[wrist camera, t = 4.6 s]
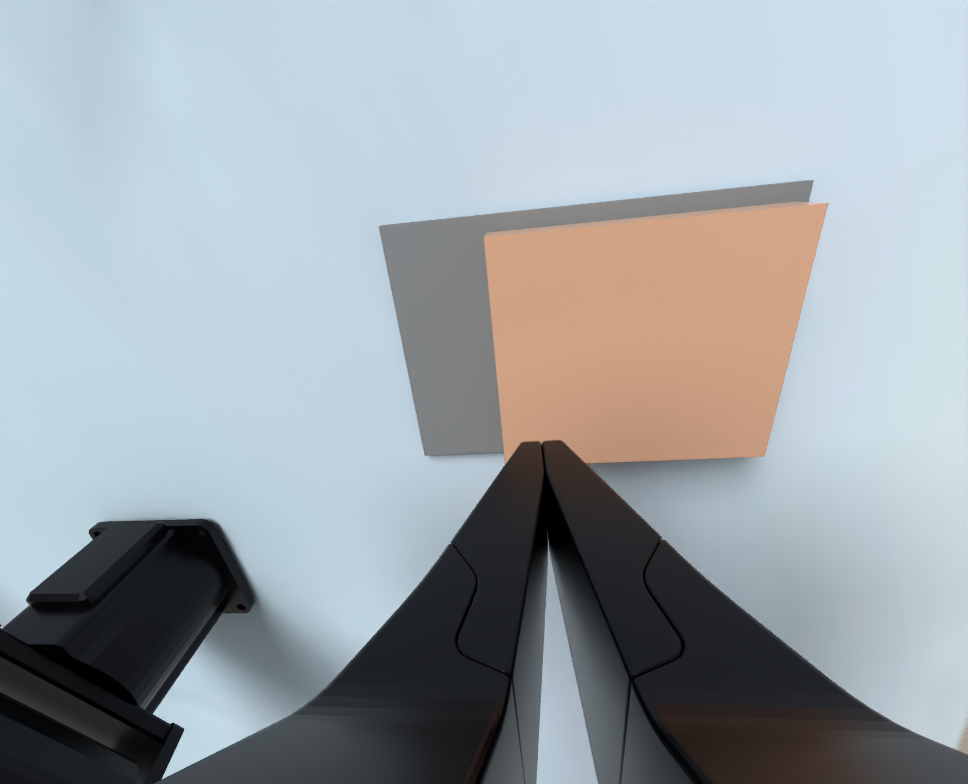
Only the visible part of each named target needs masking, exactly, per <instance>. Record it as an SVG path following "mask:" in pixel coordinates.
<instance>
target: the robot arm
mask: <svg viewBox="0 0 968 784" xmlns="http://www.w3.org/2000/svg"><path fill="white" fill-rule="evenodd" d="M547 533H548V534H547ZM89 534H90V536H91V537H92V539H93V540H92V541H91V542H90V543H89V544H88V545H86V546H85V547H84V548H83V549H82V550H80V551H79V552H78V553H77V554H76V555H74V556H73V557H72V558H71V559H70V560H68V561H67V562H66V563H65V564H64V565H62V566H61V567H60V568H59V569H58V570H56V571H55V572H54V573H53V574H52V575H50V576H49V577H48V578H47V579H46V580H44V581H43V582H42V583H41V584H40V585H38V586H37V587H36V588H35V589H34V590H32V591H31V592H30V594H29V595H28V597H27V599H26V601H27V602H28V604H29V606H28V607H27V608H26V609H25V610H23V611H22V612H21V613H20V614H19V615H18V616H16V617H15V618H14V619H13V620H12V621H11V622H9V623H8V624H7V625H6V626H5V627H4V628H2V629H0V784H536V780H537V760H538V741H539V722H540V703H541V683H542V664H543V645H544V625H545V606H546V587H547V568H548V543H549V551H550V556H551V562H552V566H553V571H554V576H555V581H556V585H557V590H558V595H559V600H560V604H561V609H562V614H563V618H564V623H565V628H566V633H567V637H568V642H569V647H570V652H571V656H572V661H573V666H574V671H575V675H576V680H577V685H578V690H579V694H580V699H581V704H582V709H583V713H584V718H585V723H586V728H587V732H588V737H589V742H590V747H591V751H592V756H593V761H594V766H595V770H596V775H597V780H598V784H968V754H965V753H963V752H960V751H958V750H955V749H953V748H950V747H948V746H945V745H943V744H940V743H938V742H935V741H933V740H930V739H928V738H926V737H923V736H921V735H919V734H916V733H914V732H912V731H910V730H908V729H906V728H904V727H902V726H900V725H898V724H896V723H894V722H893V721H891V720H889V719H888V718H886V717H884V716H883V715H881V714H879V713H878V712H876V711H874V710H873V709H871V708H870V707H868V706H867V705H865V704H864V703H862V702H861V701H859V700H858V699H856V698H855V697H853V696H852V695H850V694H849V693H848V692H846V691H845V690H844V689H842V688H841V687H840V686H838V685H837V684H836V683H835V682H833V681H832V680H831V679H829V678H828V677H827V676H826V675H824V674H823V673H822V672H821V671H819V670H818V669H817V668H816V667H814V666H813V665H812V664H811V663H809V662H808V661H807V660H806V659H804V658H803V657H802V656H801V655H799V654H798V653H797V652H796V651H794V650H793V649H792V648H791V647H789V646H788V645H787V644H786V643H784V642H783V641H782V640H781V639H779V638H778V637H777V636H776V635H774V634H773V633H772V632H771V631H769V630H768V629H767V628H766V627H764V626H763V625H762V624H761V623H760V622H758V621H757V620H756V619H755V618H753V617H752V616H751V615H750V614H748V613H747V612H746V611H745V610H743V609H742V608H741V607H740V606H738V605H737V604H736V603H735V602H734V601H732V600H731V599H730V598H729V597H728V596H726V595H725V594H724V593H723V592H722V591H720V590H719V589H718V588H717V587H716V586H714V585H713V584H712V583H711V582H710V581H708V580H707V579H706V578H705V577H704V576H703V575H702V574H701V573H699V572H698V571H697V570H696V569H695V568H694V567H693V566H692V565H691V564H690V563H689V562H688V561H686V560H685V559H684V558H683V557H682V556H681V555H680V554H679V553H678V552H677V551H676V550H675V549H674V548H673V547H672V546H671V545H670V544H669V543H668V542H667V541H665V540H662V537H661V536H660V535H659V534H658V533H657V532H656V531H655V530H654V529H653V528H652V527H651V526H650V525H649V524H648V523H647V522H646V521H645V520H644V519H643V518H642V517H641V516H639V515H638V514H637V513H636V512H635V511H634V510H633V509H632V508H631V507H630V506H629V505H628V504H627V503H626V502H625V501H624V500H623V499H622V498H621V497H620V496H619V495H618V494H617V493H616V492H615V491H614V490H613V489H612V488H611V487H610V486H609V485H608V484H607V483H605V482H604V481H603V480H602V479H601V478H600V477H599V476H598V475H597V474H596V473H595V472H594V471H593V470H592V469H591V468H590V467H589V466H588V465H587V464H586V463H585V462H584V461H583V460H582V459H581V458H580V457H579V456H578V455H577V454H576V453H575V452H574V451H573V450H571V449H570V448H569V447H568V446H567V445H566V444H565V443H564V442H563V441H562V440H547V441H543V442H542V444H541V442H539V441H525V442H521V443H520V445H519V446H518V447H517V449H516V450H515V452H514V453H513V454H512V456H511V457H510V459H509V460H508V462H507V463H506V464H505V466H504V467H503V469H502V470H501V471H500V473H499V474H498V476H497V477H496V479H495V480H494V481H493V483H492V484H491V486H490V487H489V488H488V490H487V491H486V493H485V494H484V496H483V497H482V498H481V500H480V501H479V503H478V504H477V505H476V507H475V508H474V510H473V511H472V512H471V514H470V515H469V517H468V518H467V520H466V521H465V522H464V524H463V525H462V527H461V528H460V529H459V531H458V532H457V534H456V535H455V537H454V538H453V539H452V541H451V544H449V545H448V546H447V547H446V549H445V550H444V552H443V553H442V555H441V556H440V557H439V559H438V560H437V562H436V563H435V564H434V565H433V567H432V568H431V569H430V571H429V572H428V573H427V575H426V576H425V577H424V579H423V580H422V581H421V582H420V584H419V585H418V586H417V587H416V588H415V589H414V591H413V592H412V593H411V594H410V595H409V596H408V598H407V599H406V600H405V601H404V602H403V603H402V605H401V606H400V607H399V608H398V609H397V610H396V611H395V613H394V614H393V615H392V616H391V617H390V618H389V619H388V620H387V621H386V623H385V624H384V625H383V626H382V627H381V628H380V629H379V630H378V631H377V633H376V634H375V635H374V636H373V637H372V638H371V639H370V640H369V641H368V643H367V644H366V645H365V646H364V647H363V648H362V649H361V650H360V651H359V652H358V654H357V655H356V656H355V657H354V658H353V659H352V660H351V661H350V662H349V664H348V665H347V666H346V667H345V668H344V669H343V670H342V671H341V672H340V673H339V675H338V676H337V677H336V678H335V679H334V680H333V681H332V682H331V683H330V684H329V685H328V686H327V687H326V688H325V689H323V690H322V691H321V692H320V693H319V694H318V695H317V696H316V697H314V698H313V699H312V700H311V701H309V702H308V703H307V704H306V705H304V706H303V707H302V708H300V709H299V710H297V711H296V712H294V713H293V714H291V715H289V716H288V717H286V718H284V719H282V720H280V721H278V722H276V723H274V724H272V725H270V726H268V727H266V728H264V729H262V730H260V731H258V732H256V733H254V734H252V735H250V736H248V737H246V738H244V739H242V740H240V741H238V742H236V743H234V744H232V745H230V746H228V747H226V748H224V749H222V750H220V751H218V752H216V753H214V754H212V755H210V756H208V757H206V758H204V759H202V760H200V761H198V762H196V763H194V764H192V765H190V766H188V767H186V768H184V769H182V770H180V771H178V772H176V773H174V774H172V775H170V776H168V777H166V778H164V779H162V777H163V775H164V773H165V771H166V768H167V766H168V764H169V762H170V760H171V758H172V755H173V753H174V751H175V749H176V747H177V745H178V743H179V740H180V738H181V736H182V734H183V732H184V728H182V727H180V726H179V725H177V724H175V723H171V724H169V723H167V722H165V721H164V720H162V719H160V718H158V717H156V716H155V715H153V713H154V711H155V710H156V708H157V707H158V706H159V704H160V703H161V701H162V700H163V698H164V697H165V695H166V694H167V692H168V691H169V690H170V688H171V687H172V685H173V684H174V682H175V681H176V679H177V678H178V677H179V675H180V674H181V672H182V671H183V669H184V668H185V666H186V665H187V663H188V662H189V661H190V659H191V658H192V656H193V655H194V653H195V652H196V650H197V649H198V647H199V646H200V645H201V643H202V642H203V640H204V639H205V637H206V636H207V634H208V633H209V632H210V630H211V629H212V627H213V626H214V624H215V623H216V621H217V620H218V618H219V617H220V616H221V614H222V613H248V612H250V610H251V608H252V607H253V605H254V603H255V602H254V599H253V598H252V596H251V594H250V592H249V590H248V588H247V586H246V584H245V582H244V581H243V579H242V577H241V575H240V573H239V571H238V569H237V567H236V565H235V564H234V562H233V560H232V558H231V556H230V554H229V552H228V550H227V548H226V547H225V545H224V543H223V541H222V539H221V537H220V535H219V533H218V531H217V530H216V528H215V526H214V525H213V524H212V523H211V522H210V521H207V520H204V519H190V520H154V521H119V522H99V523H97V524H96V525H95V526H93V527H92V528H91V529H90V530H89ZM0 626H1V625H0ZM161 779H162V780H161Z"/></svg>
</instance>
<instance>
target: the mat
mask: <svg viewBox="0 0 968 784" xmlns="http://www.w3.org/2000/svg"><path fill="white" fill-rule="evenodd" d="M813 181H814V180H807V181H797V182H788V183H778V184H769V185H759V186H750V187H740V188H731V189H722V190H712V191H703V192H693V193H684V194H674V195H665V196H656V197H646V198H637V199H627V200H618V201H608V202H599V203H589V204H580V205H571V206H561V207H552V208H542V209H533V210H523V211H514V212H505V213H495V214H486V215H476V216H467V217H457V218H448V219H438V220H429V221H420V222H410V223H401V224H391V225H382V226H379V230H380V235H381V240H382V245H383V250H384V255H385V260H386V265H387V270H388V274H389V279H390V284H391V289H392V294H393V299H394V304H395V309H396V314H397V319H398V324H399V329H400V334H401V339H402V344H403V349H404V354H405V359H406V364H407V369H408V374H409V379H410V384H411V389H412V394H413V399H414V404H415V409H416V414H417V419H418V424H419V429H420V434H421V439H422V444H423V449H424V454H425V456H428V455H451V454H474V453H497V452H504V447H503V436H502V426H501V415H500V404H499V394H498V383H497V373H496V362H495V351H494V341H493V330H492V320H491V309H490V298H489V288H488V277H487V267H486V256H485V245H484V236H485V235H486V233H489V232H499V231H509V230H519V229H529V228H538V227H548V226H558V225H568V224H578V223H588V222H598V221H608V220H618V219H627V218H637V217H647V216H657V215H667V214H677V213H687V212H697V211H707V210H716V209H726V208H736V207H746V206H756V205H766V204H776V203H786V202H809V198H810V193H811V189H812V185H813Z"/></svg>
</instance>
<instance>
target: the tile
mask: <svg viewBox="0 0 968 784" xmlns="http://www.w3.org/2000/svg"><path fill="white" fill-rule="evenodd" d="M827 206H828V203H815V202H786V203H776V204H766V205H756V206H746V207H736V208H726V209H716V210H707V211H697V212H687V213H677V214H667V215H657V216H647V217H637V218H627V219H618V220H608V221H598V222H588V223H578V224H568V225H558V226H548V227H538V228H529V229H519V230H509V231H499V232H489V233H486V235H485V236H484V245H485V256H486V267H487V277H488V288H489V298H490V309H491V320H492V330H493V341H494V351H495V362H496V373H497V383H498V394H499V404H500V415H501V426H502V436H503V447H504V457H505V464H506V463H507V462H508V460H509V459H510V457H511V456H512V454H513V453H514V452H515V450H516V449H517V447H518V446H519V445H520V443H521V442H525V441H539V442H541V444H542V442H543V441H547V440H562V441H563V442H564V443H565V444H566V445H567V446H568V447H569V448H570V449H571V450H573V451H574V452H575V453H576V454H577V455H578V456H579V457H580V458H581V459H582V460H583V461H584V462H585V463H611V462H636V461H662V460H687V459H712V458H738V457H763V456H765V452H766V448H767V444H768V440H769V436H770V432H771V429H772V425H773V421H774V417H775V413H776V409H777V405H778V401H779V397H780V393H781V389H782V385H783V381H784V377H785V373H786V369H787V365H788V361H789V357H790V353H791V349H792V345H793V341H794V337H795V333H796V329H797V325H798V321H799V317H800V313H801V309H802V305H803V301H804V297H805V293H806V289H807V286H808V282H809V278H810V274H811V270H812V266H813V262H814V258H815V254H816V250H817V246H818V242H819V238H820V234H821V230H822V226H823V222H824V218H825V214H826V210H827Z"/></svg>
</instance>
